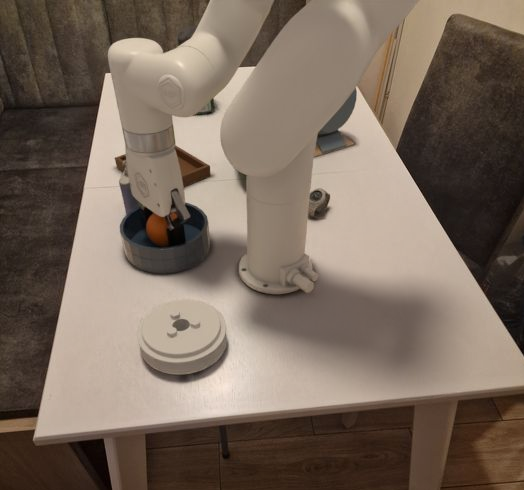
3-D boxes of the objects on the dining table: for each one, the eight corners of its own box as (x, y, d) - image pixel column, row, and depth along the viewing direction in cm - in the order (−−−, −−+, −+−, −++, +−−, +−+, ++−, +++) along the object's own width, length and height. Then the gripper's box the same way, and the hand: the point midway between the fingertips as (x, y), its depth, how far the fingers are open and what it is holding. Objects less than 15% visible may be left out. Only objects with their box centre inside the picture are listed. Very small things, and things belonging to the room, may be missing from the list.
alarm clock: (332, 128, 122) (341, 49, 109) (357, 143, 117) (370, 62, 104) (286, 142, 117) (289, 60, 104) (309, 158, 112) (316, 74, 98)
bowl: (226, 249, 88) (225, 225, 84) (155, 285, 81) (150, 261, 77) (178, 214, 95) (175, 191, 92) (109, 244, 88) (103, 221, 85)
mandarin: (192, 244, 87) (188, 213, 82) (162, 258, 84) (156, 227, 80) (172, 229, 90) (167, 198, 86) (142, 242, 88) (136, 211, 83)
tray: (210, 176, 106) (209, 165, 104) (158, 197, 100) (156, 186, 98) (167, 149, 114) (166, 139, 112) (116, 168, 108) (114, 157, 106)
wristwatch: (302, 216, 95) (304, 193, 91) (319, 203, 98) (321, 180, 95) (317, 222, 94) (319, 199, 90) (334, 209, 97) (337, 186, 93)
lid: (134, 378, 67) (127, 354, 64) (148, 316, 76) (142, 291, 72) (225, 378, 67) (223, 355, 64) (229, 316, 76) (227, 291, 72)
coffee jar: (183, 102, 133) (174, 23, 119) (212, 100, 134) (206, 21, 120) (186, 116, 127) (177, 34, 113) (216, 114, 128) (211, 33, 114)
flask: (138, 227, 92) (127, 174, 84) (124, 226, 92) (111, 173, 85) (153, 202, 98) (143, 150, 90) (139, 201, 99) (128, 149, 91)
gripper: (98, 124, 76) (122, 223, 89) (160, 164, 67) (176, 268, 80) (140, 111, 79) (157, 209, 92) (203, 148, 70) (212, 250, 84)
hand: (166, 235), depth 86 cm, fingers closed on mandarin, 6 cm apart
